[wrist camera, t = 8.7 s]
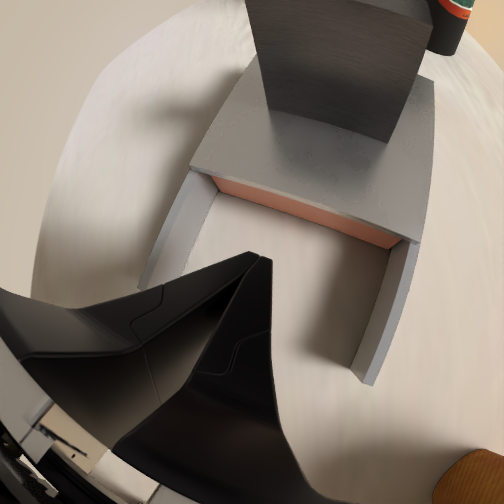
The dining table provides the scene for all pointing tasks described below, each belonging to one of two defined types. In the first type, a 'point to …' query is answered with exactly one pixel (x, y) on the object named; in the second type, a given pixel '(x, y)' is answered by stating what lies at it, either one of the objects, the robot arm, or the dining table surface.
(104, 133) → the dining table surface
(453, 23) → the wine bottle
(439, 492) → the disposable coffee cup
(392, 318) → the grey box tray
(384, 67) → the lid
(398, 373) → the dining table surface
